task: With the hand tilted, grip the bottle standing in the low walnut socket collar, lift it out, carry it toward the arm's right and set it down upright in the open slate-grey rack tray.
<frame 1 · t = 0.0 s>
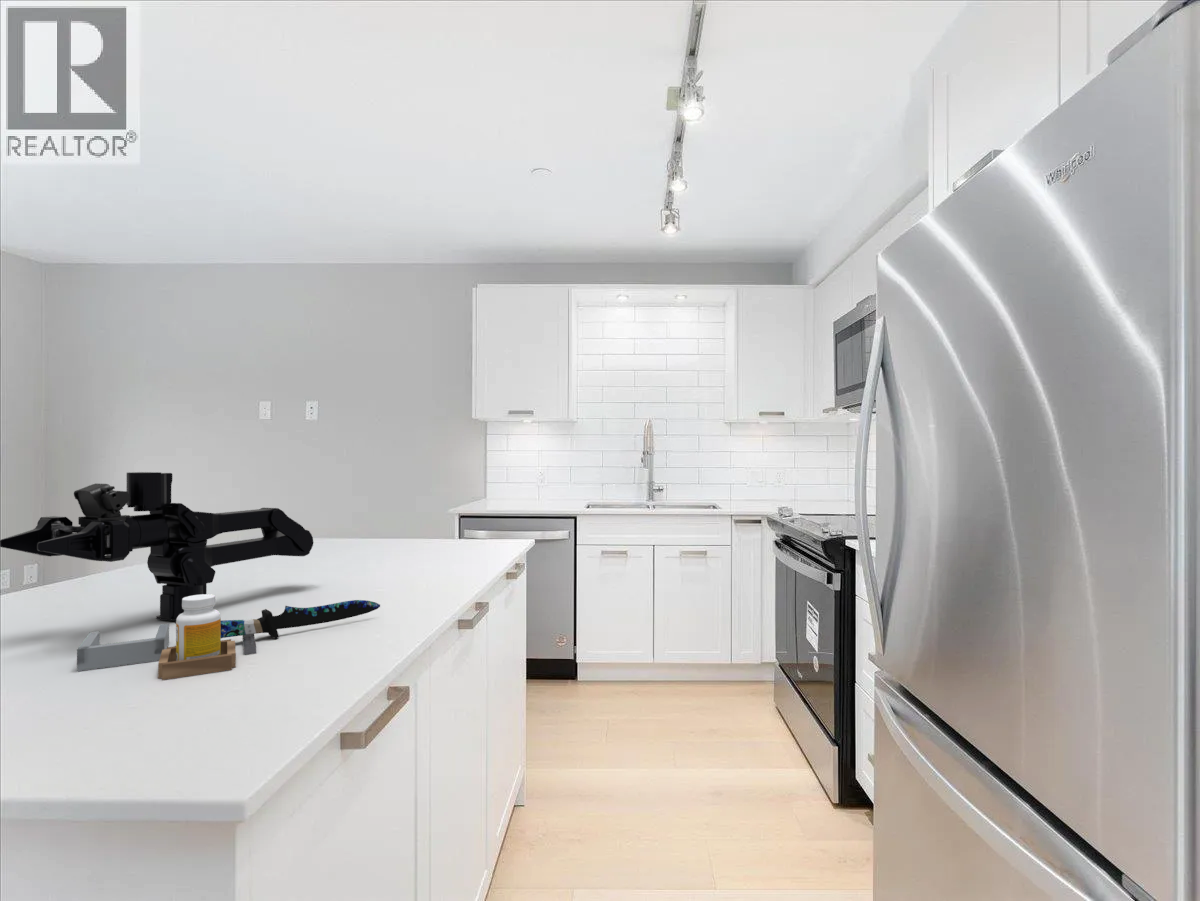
hand: (18, 545, 95), 17 cm above the countertop, tool horizontal, fingers open, 9 cm apart
supplement bottle: (198, 667, 92), resting in socket collar
socket collar: (198, 665, 92), on the countertop
knife: (294, 633, 108), on the countertop, touching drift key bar
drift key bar: (249, 646, 101), on the countertop
rack tray: (126, 656, 96), on the countertop
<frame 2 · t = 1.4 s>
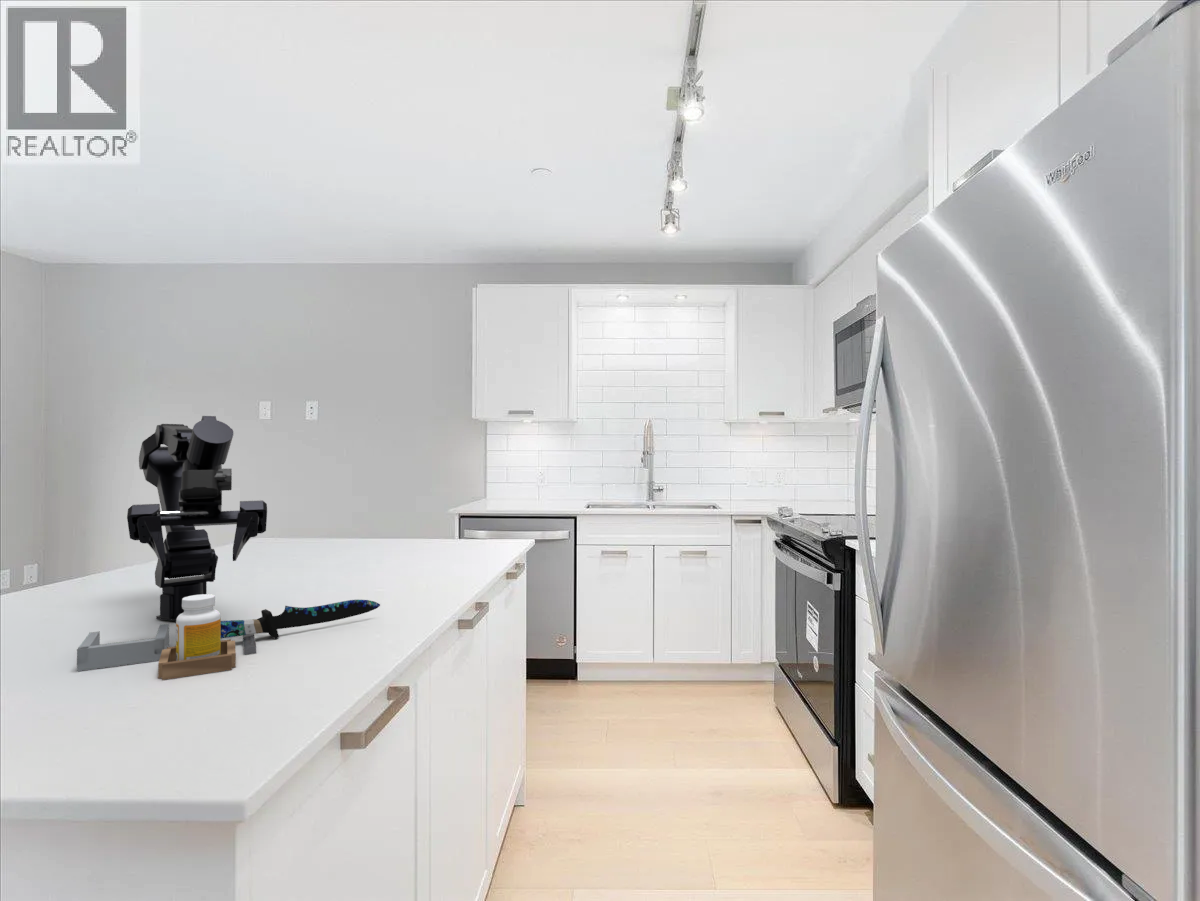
hand: (199, 561, 99), 14 cm above the countertop, tool tilted 45°, fingers open, 9 cm apart
knife: (294, 633, 108), on the countertop
everything else where it was.
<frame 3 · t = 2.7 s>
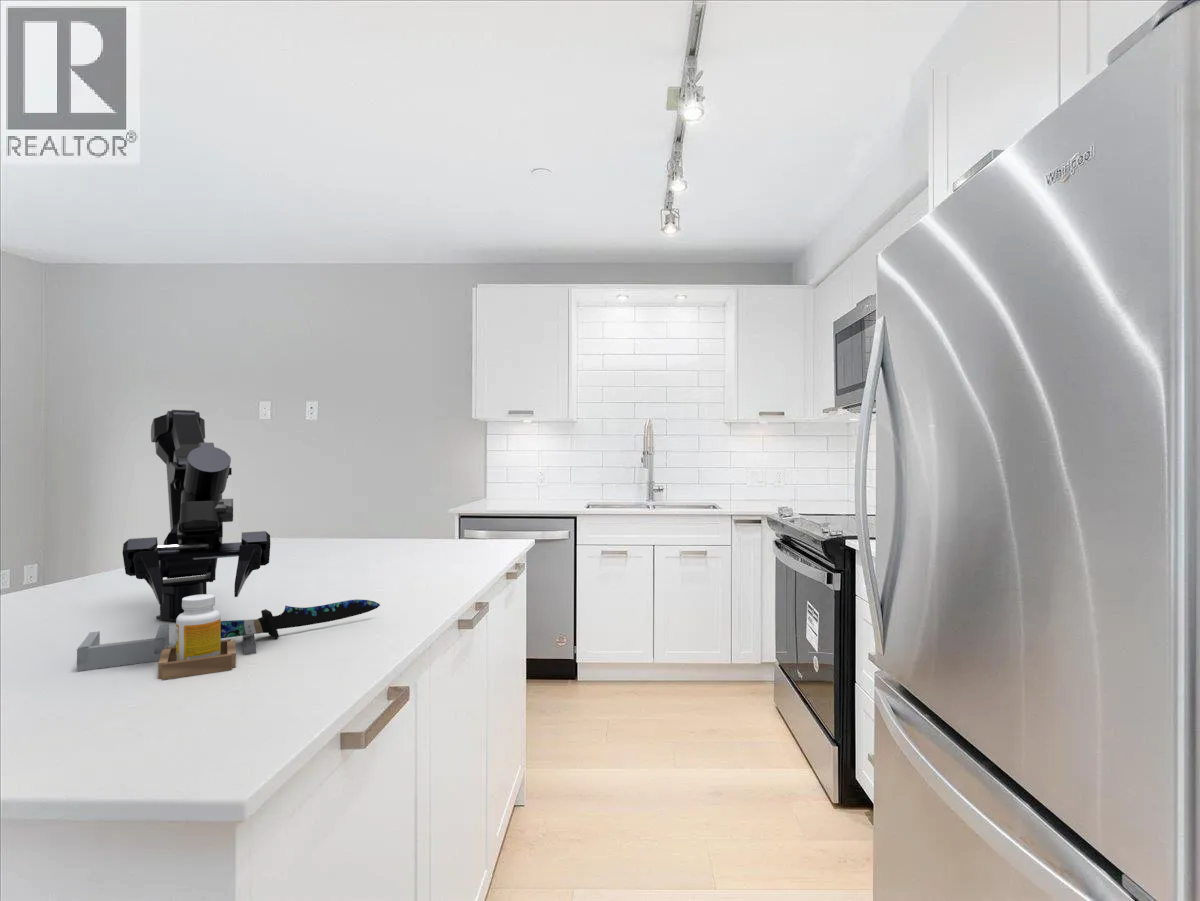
hand: (199, 599, 93), 9 cm above the countertop, tool tilted 45°, fingers open, 9 cm apart
nothing on the countertop moved.
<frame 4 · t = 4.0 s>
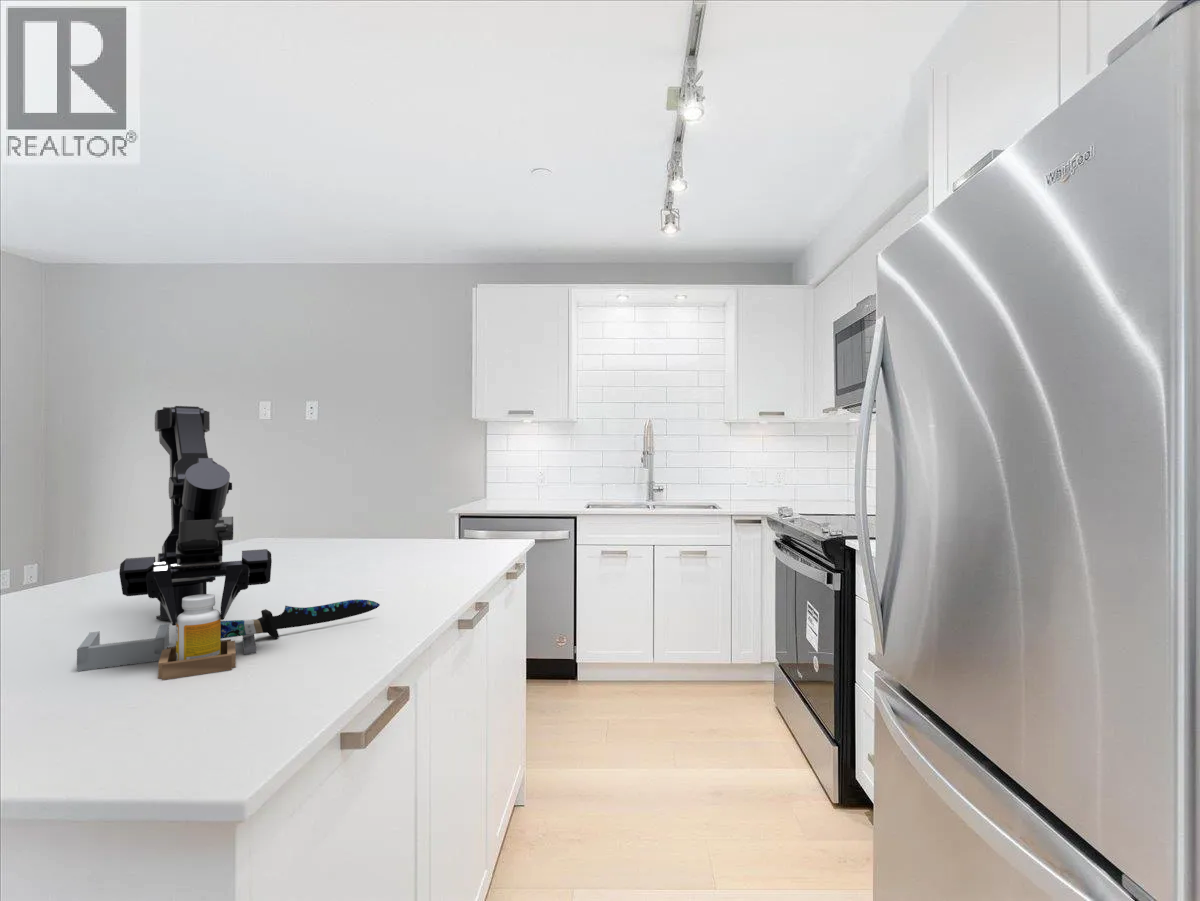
hand: (198, 621, 91), 7 cm above the countertop, tool tilted 45°, fingers closed on supplement bottle, 5 cm apart
supplement bottle: (198, 666, 92), resting in socket collar, touching gripper
everything else where it was.
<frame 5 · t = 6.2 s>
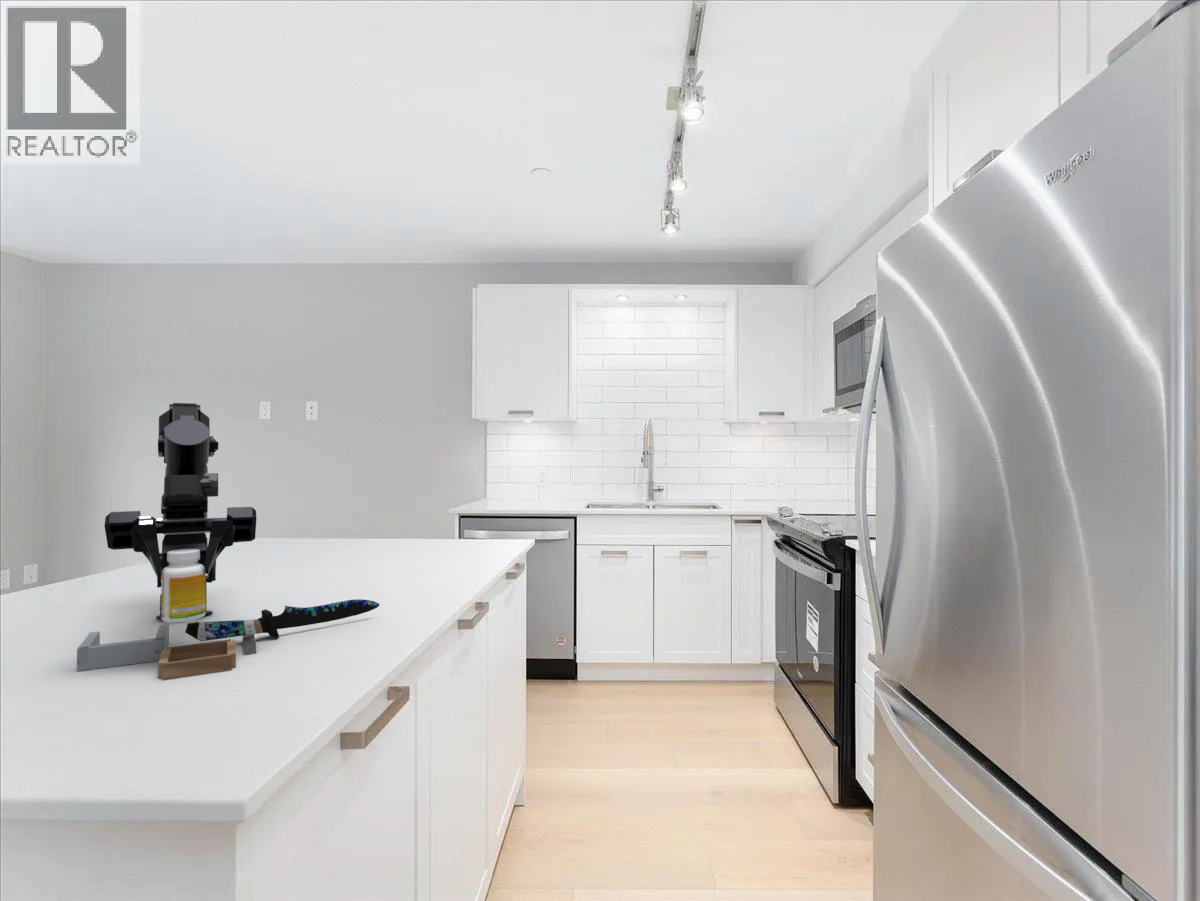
hand: (183, 574, 92), 13 cm above the countertop, tool tilted 45°, fingers closed on supplement bottle, 5 cm apart
supplement bottle: (183, 619, 93), point 6 cm above the countertop, touching gripper
everything else where it was.
when the fingers open (9 cm above the countertop, at t = 8.6 s): supplement bottle stays where it is, resting on rack tray.
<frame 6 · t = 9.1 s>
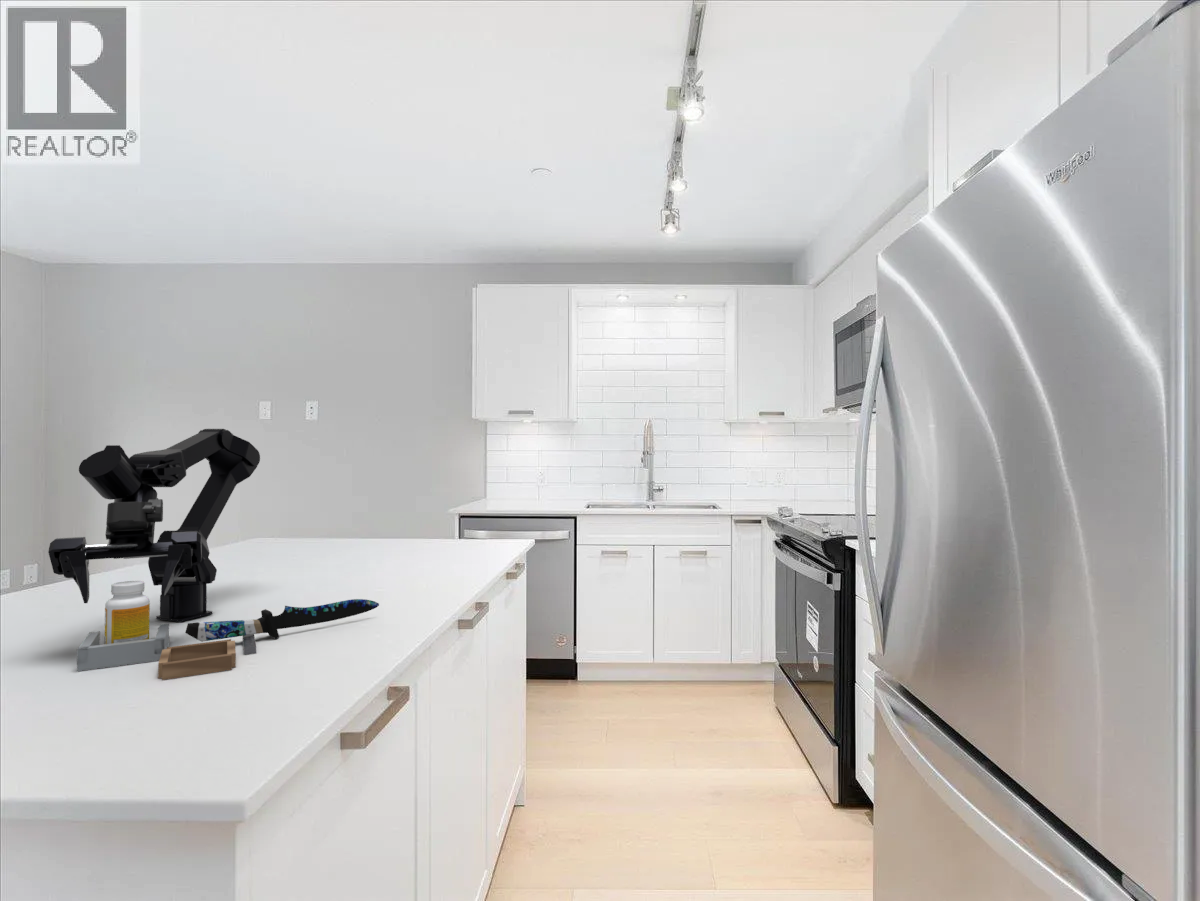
hand: (125, 598, 95), 9 cm above the countertop, tool tilted 45°, fingers open, 9 cm apart
supplement bottle: (127, 650, 96), point 1 cm above the countertop, touching rack tray
everything else where it was.
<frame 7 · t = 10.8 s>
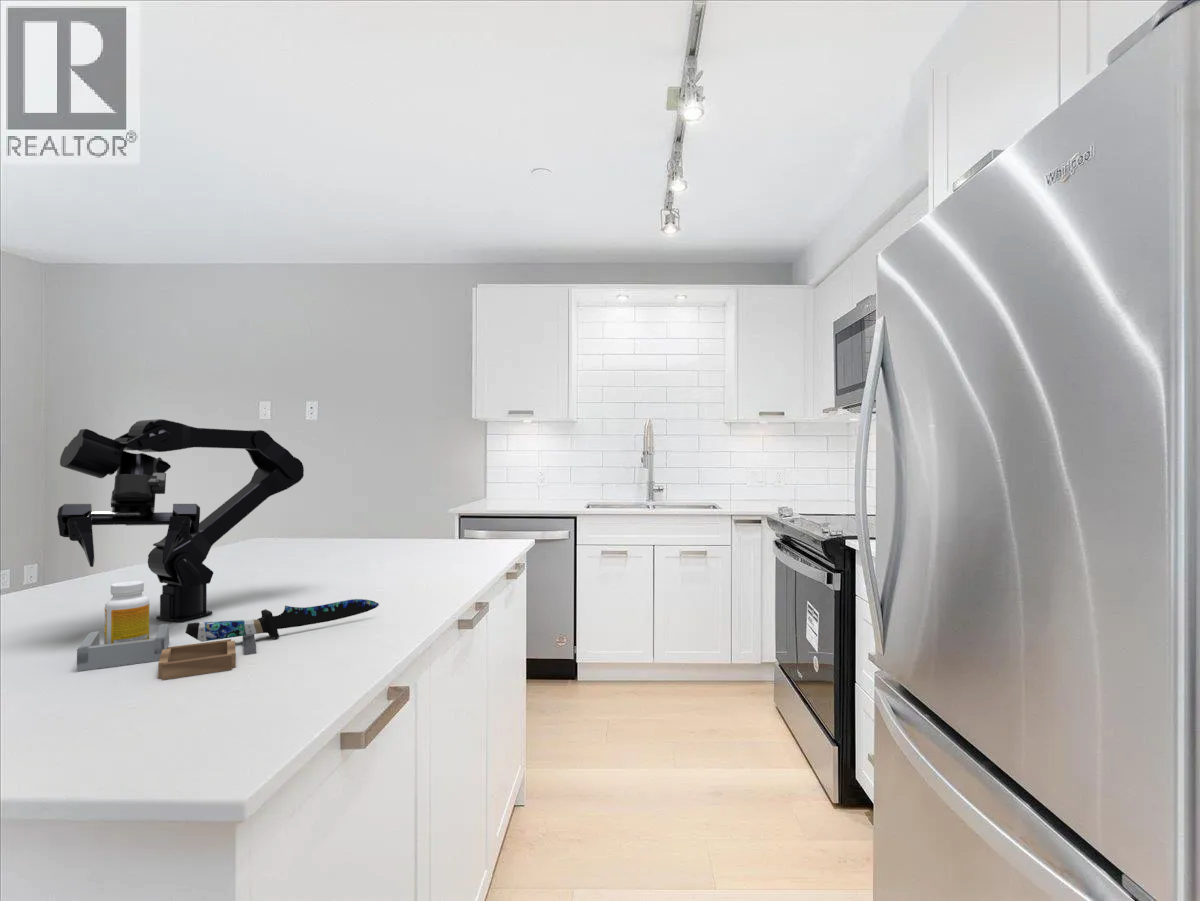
hand: (128, 563, 102), 13 cm above the countertop, tool tilted 40°, fingers open, 9 cm apart
nothing on the countertop moved.
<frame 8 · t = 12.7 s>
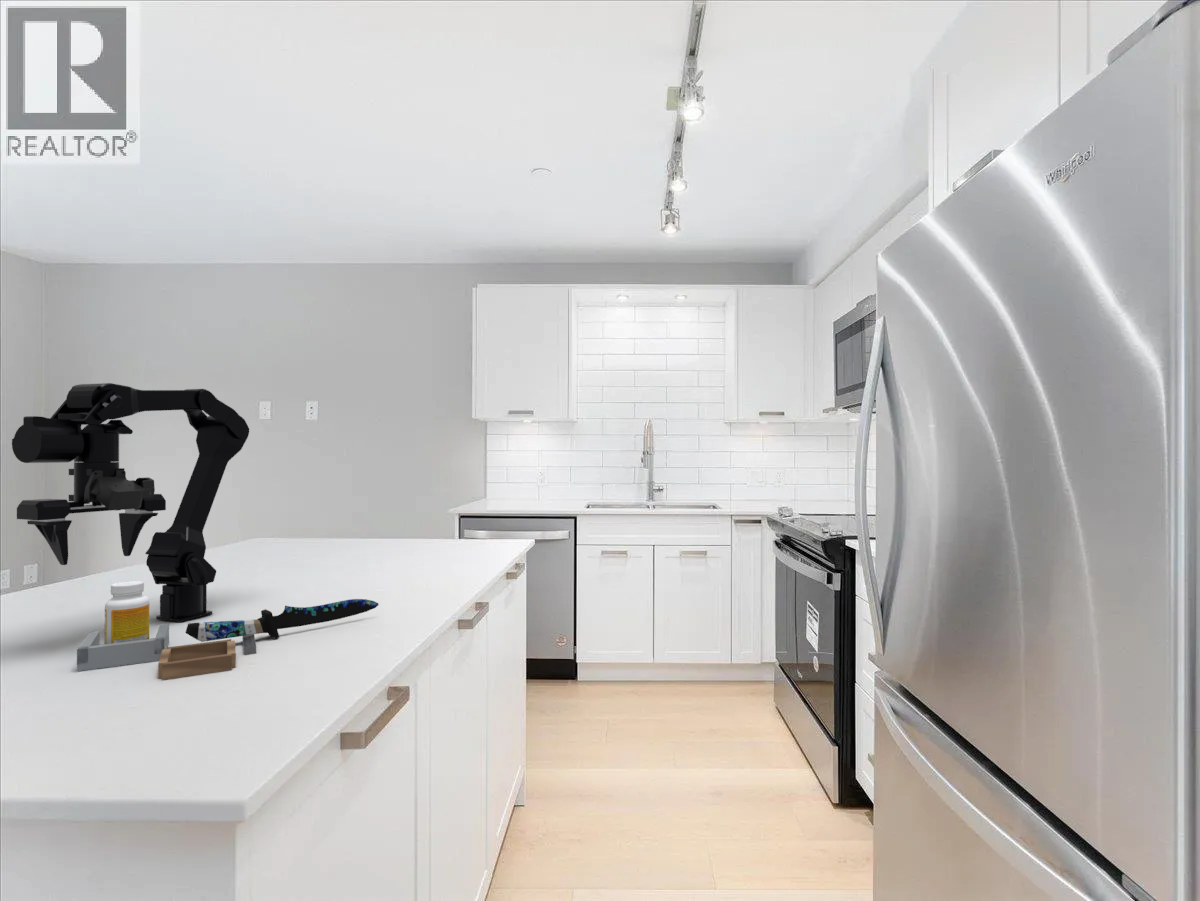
hand: (96, 560, 103), 13 cm above the countertop, tool pointing down, fingers open, 9 cm apart
knife: (293, 633, 108), on the countertop, touching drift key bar
everything else where it was.
at the end: supplement bottle inside the target area on the rack tray (0.2 cm from its centre), point 0.8 cm above the rack tray's base; supplement bottle tilted 0°; the gripper is holding nothing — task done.
